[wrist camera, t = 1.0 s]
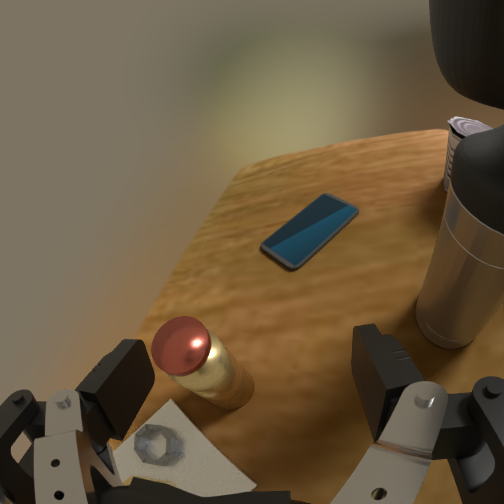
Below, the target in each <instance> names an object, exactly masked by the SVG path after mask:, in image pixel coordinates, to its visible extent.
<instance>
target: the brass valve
mask: <svg viewBox="0 0 504 504" xmlns="http://www.w3.org/2000/svg"><path fill="white" fill-rule="evenodd" d="M151 351H152V357H153V360H154V362H155V364H156V365H157V366H158V367H159V368H160V369H161V370H163V371H164V372H166V373H167V374H168V375H169V377H170V378H171V379H173V380H174V381H176V382H177V383H179V384H180V385H182V386H184V387H185V388H187V389H189V390H190V391H192V392H194V393H196V394H197V395H199V396H201V397H203V398H204V399H206V400H208V401H210V402H211V403H213V404H215V405H217V406H219V407H221V408H224V409H230V410H231V409H237V408H240V407H242V406H243V405H245V404H246V403H247V402H248V401H249V400H250V398H251V397H252V395H253V392H254V381H253V378H252V376H251V375H250V373H249V372H248V371H247V370H246V369H245V368H244V367H243V366H242V365H241V364H240V363H239V361H238V360H237V359H236V358H235V357H234V356H233V355H232V354H231V353H230V351H229V350H228V349H227V348H226V347H225V346H224V345H223V344H222V342H221V341H220V340H219V339H218V338H217V337H216V336H215V334H214V333H213V332H211V331H210V330H208V329H206V328H205V327H204V325H203V324H202V323H201V322H200V321H198V320H197V319H195V318H193V317H189V316H181V317H177V318H174V319H172V320H170V321H168V322H167V323H165V324H164V325H163V326H162V327H161V328H160V329H159V330H158V332H157V333H156V335H155V337H154V339H153V342H152V348H151Z"/></svg>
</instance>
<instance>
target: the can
mask: <svg viewBox="0 0 504 504" xmlns="http://www.w3.org/2000/svg"><path fill="white" fill-rule="evenodd" d="M448 122H449V123H450V124H449V136H448V147H447V156H446V164H445V172H444V178H443V179H444V186H445V190H446V191H447V192H448V188H449V182H450V174H451V168H452V161H453V155H454V152H455V149H456V147H457V145H458V143H459V142H460V141H461V140H462V139H463V138H465V137H467V136H469V135H471V134H474V133H479V132H483V131H487V130H491V129H493V128H491V127H489V126H487V125H485V124H483V123H481V122H479V121H477V120H471V119H466V118H462V117H457V116H456V117H454V118H452V119H450V120H448Z"/></svg>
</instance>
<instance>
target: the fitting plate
mask: <svg viewBox="0 0 504 504" xmlns="http://www.w3.org/2000/svg"><path fill="white" fill-rule="evenodd" d="M112 453H113V456H114V460H115V463H116V466H117V470H118V473H119V476H120V479H121V481H122V483H123V485H130V483H131V481H132V479H133V477H138V478H142V479H146V480H151V481H156V482H161V483H166V484H169V485H171V486H174V487H176V488H179V489H181V490H184V491H187V492H189V493H192V494H195V495H198V496H201V497H212V496H221V495H228V494H235V493H242V492H251V491H253V490H254V489H255V488H256V487H257V486H258V485H259V484H257V483H256V482H255V481H254V480H253V479H252V478H250V477H249V476H248V475H247V474H246V473H245V472H243V471H242V470H241V469H240V468H239V467H238V466H237V465H236V464H235V463H233V462H232V461H231V460H230V459H229V458H228V457H227V456H226V455H225V454H224V453H223V452H222V451H221V450H220V449H219V448H218V447H217V446H216V445H215V444H214V443H213V442H212V441H211V440H210V439H209V438H208V437H207V436H206V435H205V434H204V433H203V432H202V431H201V430H200V429H199V428H198V427H197V426H196V425H195V424H194V422H193V421H192V420H191V419H190V418H189V417H188V416H187V415H186V414H185V412H184V411H183V410H182V409H181V408H180V407H179V406H178V404H177V403H176V402H175V401H174V400H172V399H170V400H169V401H168V402H167V403H165V404H164V405H163V406H162V407H161V408H160V409H159V410H158V411H157V412H156V413H155V414H154V415H153V416H152V417H151V418H150V419H148V420H147V421H146V422H145V423H144V424H143V425H142V426H141V427H140V428H139V429H138V430H137V431H135V432H134V433H133V434H132V435H131V436H130V437H129V438H128V439H127V440H125V441H124V442H123V443H122V444H121V445H120V446H119V447H118V448H117V449H115V450H114V451H113V452H112Z"/></svg>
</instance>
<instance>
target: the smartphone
mask: <svg viewBox="0 0 504 504" xmlns="http://www.w3.org/2000/svg"><path fill="white" fill-rule="evenodd" d="M358 213H359V209H358V207H357V206H355V205H353V204H351V203H349V202H346V201H344V200H342V199H340V198H338V197H335V196H333V195H331V194H328V193H325V194H322V195H320V196H319V197H318V198H317V199H315V200H314V201H313V202H312V203H310V204H309V205H308V206H307V207H305V208H304V209H303V210H302V211H301V212H299V213H298V214H297V215H296V216H294V217H293V218H292V219H291V220H289V221H288V222H287V223H286V224H284V225H283V226H282V227H281V228H279V229H278V230H277V231H276V232H274V233H273V234H272V235H271V236H269V237H268V238H267V239H266V240H264V241H263V242H262V243H261V248H262V250H263V251H264V252H267V253H268V254H269V255H270V256H271V257H272V258H274V259H275V260H277V261H278V262H279V263H281V264H282V265H283V266H286V267H287V268H288V269H289V270H292V271H293V270H298V269H299V268H301V267H302V266H303V265H304V264H305V263H306V262H308V261H309V260H310V259H311V258H312V257H313V256H314V255H315V254H316V253H317V252H318V251H320V250H321V249H322V248H323V247H324V246H325V245H326V244H327V243H328V242H329V241H330V240H331V239H332V238H334V237H335V236H336V235H337V234H338V233H339V232H340V231H341V230H342V229H343V228H344V227H345V226H346V225H347V224H349V223H350V222H351V221H352V220H353V219H354V218H355V217H356V216H357V215H358Z"/></svg>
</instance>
